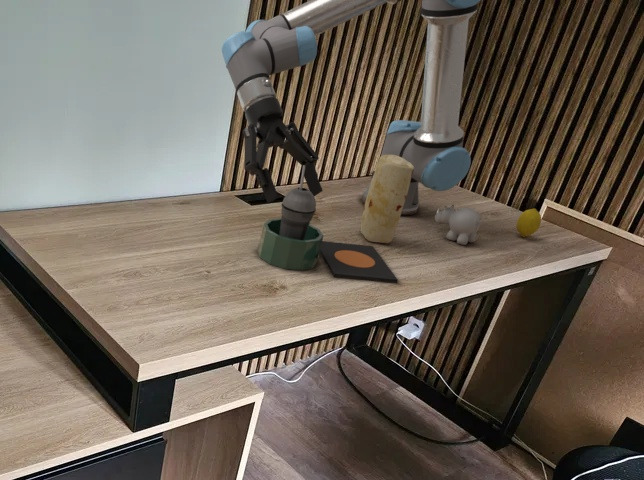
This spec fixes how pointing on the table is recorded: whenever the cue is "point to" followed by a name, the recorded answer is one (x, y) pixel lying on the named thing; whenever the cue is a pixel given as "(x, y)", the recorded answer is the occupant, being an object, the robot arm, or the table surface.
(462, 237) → the toy rhinoceros
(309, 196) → the beverage cup
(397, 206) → the food model
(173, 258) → the table surface
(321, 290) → the table surface
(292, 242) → the pot
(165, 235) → the table surface
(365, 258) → the mat
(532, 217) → the lemon
